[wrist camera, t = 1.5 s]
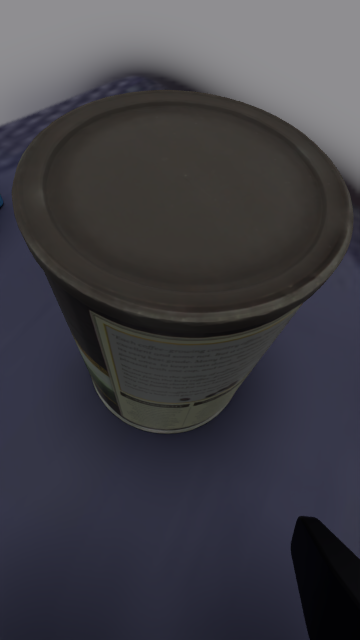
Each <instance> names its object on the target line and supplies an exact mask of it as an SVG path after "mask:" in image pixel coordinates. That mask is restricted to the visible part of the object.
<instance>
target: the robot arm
mask: <svg viewBox="0 0 360 640" xmlns="http://www.w3.org/2000/svg"><path fill="white" fill-rule="evenodd" d="M291 555H292V560H293V565H294V570H295V574H296V579H297V584H298V589H299V594H300V598H301V603H302V608H303V613H304V617H305V622H306V626H307V631H308V635H309V638H310V640H360V559H359V558H358V557H357V556H356V555H355V554H354V553H353V552H352V551H351V550H350V549H349V548H347V547H346V546H345V545H344V544H343V543H342V542H341V541H340V540H339V539H338V538H337V537H336V536H335V535H334V534H333V533H332V532H331V531H330V530H329V529H328V528H327V527H326V526H325V525H324V524H323V523H322V522H321V521H320V520H318V519H317V518H315V517H308V516H300V517H298V519H297V521H296V525H295V529H294V533H293V537H292V541H291Z"/></svg>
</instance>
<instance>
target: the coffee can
mask: <svg viewBox="0 0 360 640" xmlns="http://www.w3.org/2000/svg"><path fill="white" fill-rule="evenodd" d="M12 201H13V209H14V214H15V218H16V221H17V224H18V227H19V229H20V231H21V233H22V235H23V237H24V239H25V242H26V244H27V246H28V248H29V250H30V252H31V253H32V255H33V257H34V258H35V260H36V261H37V263H38V264H39V265H40V267H41V268H42V269H43V270H44V272H45V275H46V277H47V279H48V281H49V283H50V286H51V288H52V290H53V293H54V295H55V297H56V299H57V301H58V304H59V306H60V308H61V310H62V313H63V315H64V317H65V319H66V322H67V324H68V326H69V328H70V330H71V333H72V335H73V337H74V339H75V341H76V344H77V346H78V348H79V350H80V353H81V355H82V357H83V359H84V362H85V364H86V366H87V368H88V371H89V373H90V376H91V377H92V381H93V384H94V387H95V389H96V392H97V393H98V395H99V397H100V398H101V400H102V401H103V403H104V404H105V405H106V407H107V408H108V409H109V410H110V411H111V412H112V413H113V414H115V415H116V416H117V417H118V418H120V419H121V420H122V421H124V422H125V423H127V424H129V425H131V426H133V427H135V428H138V429H141V430H144V431H148V432H153V433H165V434H170V433H180V432H186V431H189V430H193V429H195V428H197V427H199V426H202V425H204V424H206V423H207V422H209V421H210V420H212V419H213V418H214V417H216V416H217V415H218V414H219V413H220V412H221V411H222V410H223V409H224V408H225V407H226V406H227V404H228V403H229V402H230V400H231V398H232V397H233V395H234V394H235V392H236V390H237V389H238V388H239V386H240V385H241V384H242V382H243V381H244V380H245V378H246V377H247V376H248V374H249V373H250V372H251V371H252V369H253V368H254V367H255V365H256V364H257V363H258V361H259V360H260V359H261V357H262V356H263V355H264V353H265V352H266V351H267V350H268V348H269V347H270V346H271V344H272V343H273V342H274V340H275V339H276V338H277V336H278V335H279V334H280V333H281V331H282V330H283V329H284V327H285V326H286V325H287V323H288V322H289V321H290V319H291V318H292V317H293V315H294V314H295V313H296V312H297V310H298V309H299V308H300V306H301V305H302V304H303V302H305V301H306V300H307V299H308V298H310V297H311V296H312V295H313V294H314V293H315V292H316V291H317V290H318V289H319V288H320V287H321V286H322V285H323V284H324V283H325V282H326V280H327V279H328V278H329V277H330V276H331V274H332V273H333V272H334V271H335V269H336V268H337V267H338V265H339V264H340V262H341V261H342V259H343V257H344V255H345V253H346V252H347V249H348V246H349V243H350V240H351V236H352V231H353V209H352V203H351V198H350V195H349V192H348V189H347V186H346V184H345V182H344V180H343V178H342V176H341V175H340V173H339V171H338V170H337V168H336V167H335V165H334V164H333V162H332V161H331V160H330V159H329V158H328V156H327V155H326V154H325V153H324V152H323V151H322V150H321V149H320V148H319V147H318V146H317V145H316V144H315V143H314V142H313V141H312V140H310V139H309V138H308V137H307V136H306V135H305V134H303V133H302V132H301V131H299V130H298V129H296V128H295V127H293V126H292V125H290V124H289V123H287V122H285V121H283V120H282V119H280V118H278V117H277V116H274V115H272V114H270V113H268V112H266V111H264V110H262V109H259V108H256V107H254V106H251V105H248V104H245V103H243V102H240V101H236V100H232V99H229V98H225V97H221V96H217V95H211V94H206V93H199V92H192V91H177V90H153V91H141V92H131V93H126V94H120V95H114V96H110V97H106V98H102V99H99V100H96V101H93V102H90V103H88V104H85V105H83V106H80V107H78V108H76V109H74V110H72V111H70V112H68V113H66V114H65V115H63V116H61V117H60V118H58V119H57V120H55V121H54V122H52V123H51V124H50V125H49V126H48V127H47V128H45V129H44V130H43V131H41V132H40V133H39V134H38V135H37V136H36V137H35V138H34V140H33V141H32V142H31V143H30V145H29V146H28V147H27V149H26V150H25V152H24V153H23V155H22V157H21V159H20V161H19V163H18V166H17V169H16V173H15V177H14V181H13V187H12Z"/></svg>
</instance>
